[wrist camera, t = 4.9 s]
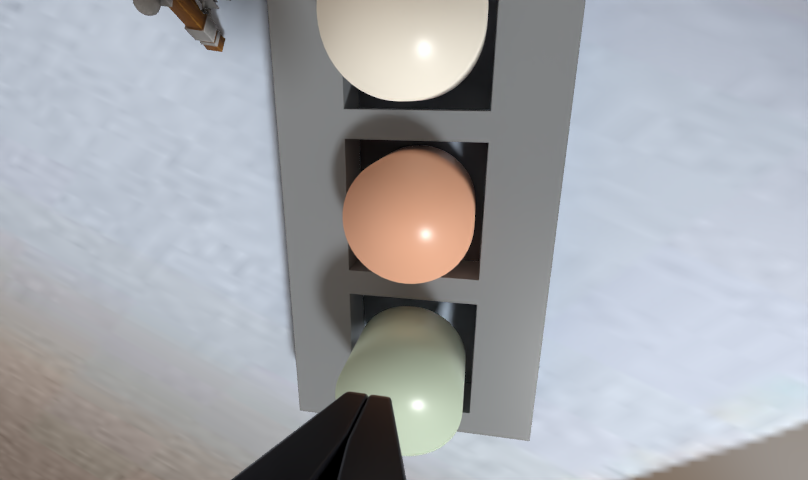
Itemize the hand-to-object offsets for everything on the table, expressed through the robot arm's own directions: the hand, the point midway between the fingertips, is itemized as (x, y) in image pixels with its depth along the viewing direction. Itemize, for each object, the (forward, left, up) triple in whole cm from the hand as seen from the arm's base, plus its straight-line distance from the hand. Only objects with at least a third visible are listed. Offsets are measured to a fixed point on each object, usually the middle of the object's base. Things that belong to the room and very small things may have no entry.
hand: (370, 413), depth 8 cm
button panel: (0, -2, -11) cm, 11 cm away
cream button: (0, -8, -9) cm, 11 cm away
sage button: (0, +4, -8) cm, 10 cm away
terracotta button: (0, -2, -10) cm, 10 cm away
